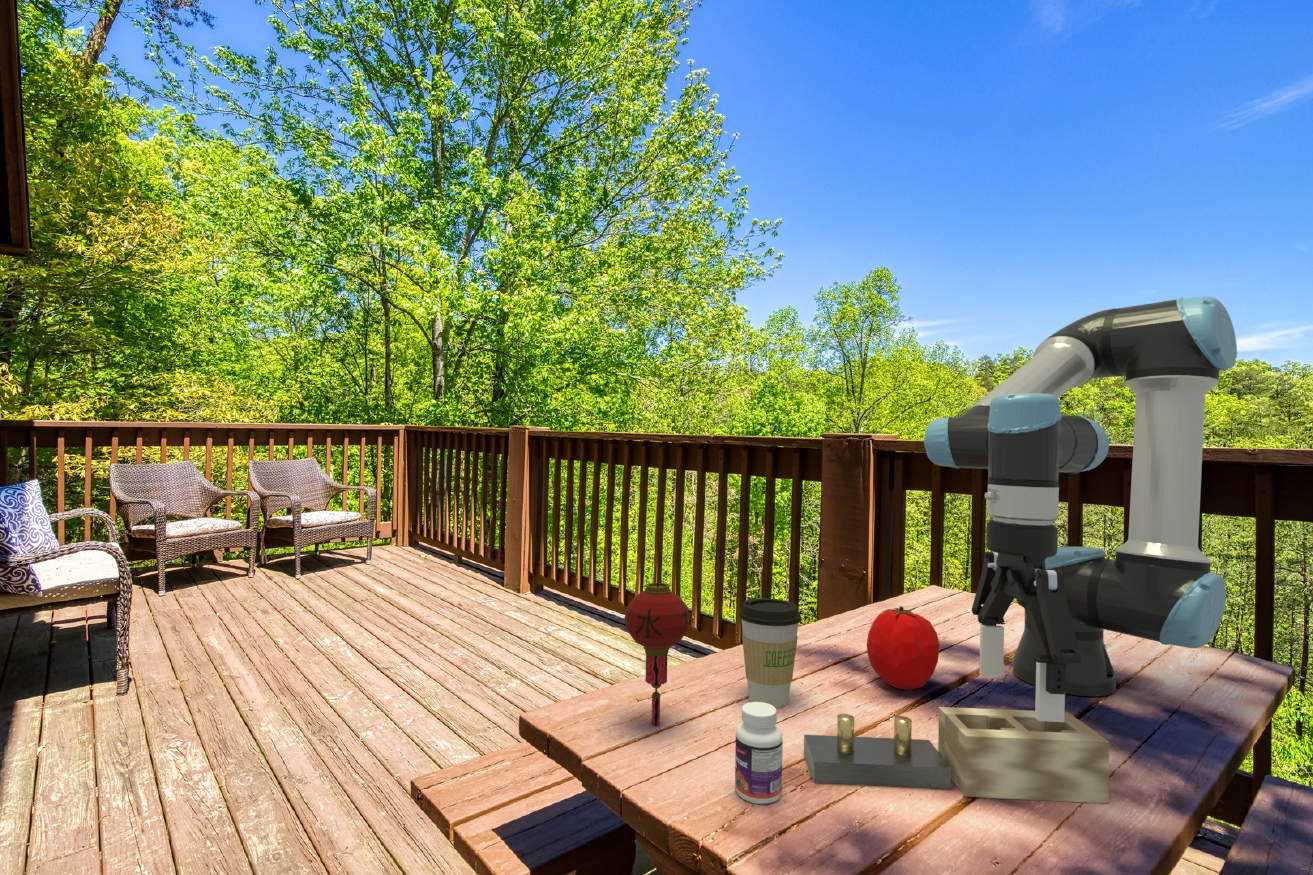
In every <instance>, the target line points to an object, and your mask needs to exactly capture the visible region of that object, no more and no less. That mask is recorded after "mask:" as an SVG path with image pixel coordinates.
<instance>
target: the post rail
mask: <svg viewBox="0 0 1313 875" xmlns="http://www.w3.org/2000/svg"><path fill="white" fill-rule="evenodd" d="M893 719H894V721H893V723H894V724H893V726H894V728H893V738H892V737H891V738H890V737H873V736H872V737H867V736H865V737H864V736H855V717H854V716H853V715H851V714H848V713H839V714H837V720H836V721H837V724H836V725H837V729H836V734H837V735H826V734H824V735H819V734H803V756H804V758H805V761H806V764H807V767H808V769H809V772H810V774H811V775H810V776H811V777H812V781H813V783H814V784H833V785H835V784H836V785H855V786H877V787H898V788H917V789H918V788H921V789H938V790H939V789H941V790H943V789H944V790H951V789H952V779H951V767H950V766H949V765H948V763H947V762H946V761H945V759H944V758H943V757H942V756H941V754H940V753H939V752H938V749H937V748H936V746H935V745H934V744H933V743H932V742H931V740H930V739H914V738H912V725H913V723H912V720H913V719H911V718H909V717H907V716H904V715H896V716H894V718H893Z"/></svg>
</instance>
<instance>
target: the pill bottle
mask: <svg viewBox="0 0 1313 875" xmlns="http://www.w3.org/2000/svg"><path fill="white" fill-rule="evenodd" d="M777 713H778V712H777V708H775V707H774V706H772V705H770V704H768V703H764V702H751V701H749V702H746V703H744V704H743V705H742V707H741V721H742V722H740V723H739V724H738V726H737V727H736V730H735V752H734V753H735V758H734V759H735V760H734V762H735V765H734V768H735V770H734V772H735V773H734V780H735V781H734V784H735V785H734V788H735V791H736V794H737V795H738V796H739V797H740V798H742V799H743V800H745V801H747V802H749V803H752V804H756V805H757V804H758V805H765V804H766V805H767V804H772V803H774V802H776V801H778V800H779V799H780V798H781V795H782V792H783V791H782V789H783V745H784V744H783V739H784V738H783V731H782V730H781V729H780V727H779V726H778V725H777V721H778V718H777V716H778V715H777Z"/></svg>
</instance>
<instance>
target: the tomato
mask: <svg viewBox="0 0 1313 875" xmlns="http://www.w3.org/2000/svg"><path fill="white" fill-rule="evenodd" d="M917 608H919V607H918V606H915V607H913V608H911V609H904V606H899V608H898V607H895V608H891V609H890V608H889V609H885V610H883V611H881V612H879V614H878V615H877V616H876V618H874V620H873V622H872V623H871V626H870V629H869V631H868V633H867V640H866V651H867V657H868V659H869V662H870V665H871V667H872V669H873V670H874V672H875V673H876V674H877V675H878V677H880V679H882V680H883V681H884V682H885V683H887V684H888V685H890V686H892V687H894V688H896V689H901V690H906V691H907V690H908V691H911V690H915V689H919V688H923V687H924V686H925V685H926V683H928V682H929V680H930V679H931V677H932V676H933V675H934V673H935V671H936V667H937V665H938V663H939V654H940V642H939V641H940V640H939V636H938V633H937V631H936V629H935V628H934V626H933V625H932V623H931V621H930V620H928V619H927V618H925V617H924V616H921V615H920V614H918V613H915V612H912V611H914V610H915V609H917Z"/></svg>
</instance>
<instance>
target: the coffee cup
mask: <svg viewBox="0 0 1313 875" xmlns="http://www.w3.org/2000/svg"><path fill="white" fill-rule="evenodd" d="M738 618H739V619H740V620H741V629H742V631H741V638H742V639H741V640H742V649H743V660H744V668H745V677H746V679H747V680H746V682H747V690H748V691H747V692H748V693H747V694H748V700H749V702H764V703H768V704H770V705H772V706H774V707H775V708H776V709H778V708H783V707H786V706H787V705H788V704H789V700H790V695H791V694H790V692H791V684H792V681H793V676H794V668H795V663H796V662H795V661H796V655H797V646H798V629H799V628H798V627H799V624H800V623H801V622H802V615H801V613H800V612H799V608H798V605H797V604H796V603H794V602H791V601H789V600H784V599H781V598H780V599H779V598H768V597H767V598H766V597H764V598H763V597H762V598H761V597H759V598H758V597H757V598H750V599H747V600H745V601H743V603H742V607H741V608H740V610H739V611H738Z"/></svg>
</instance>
